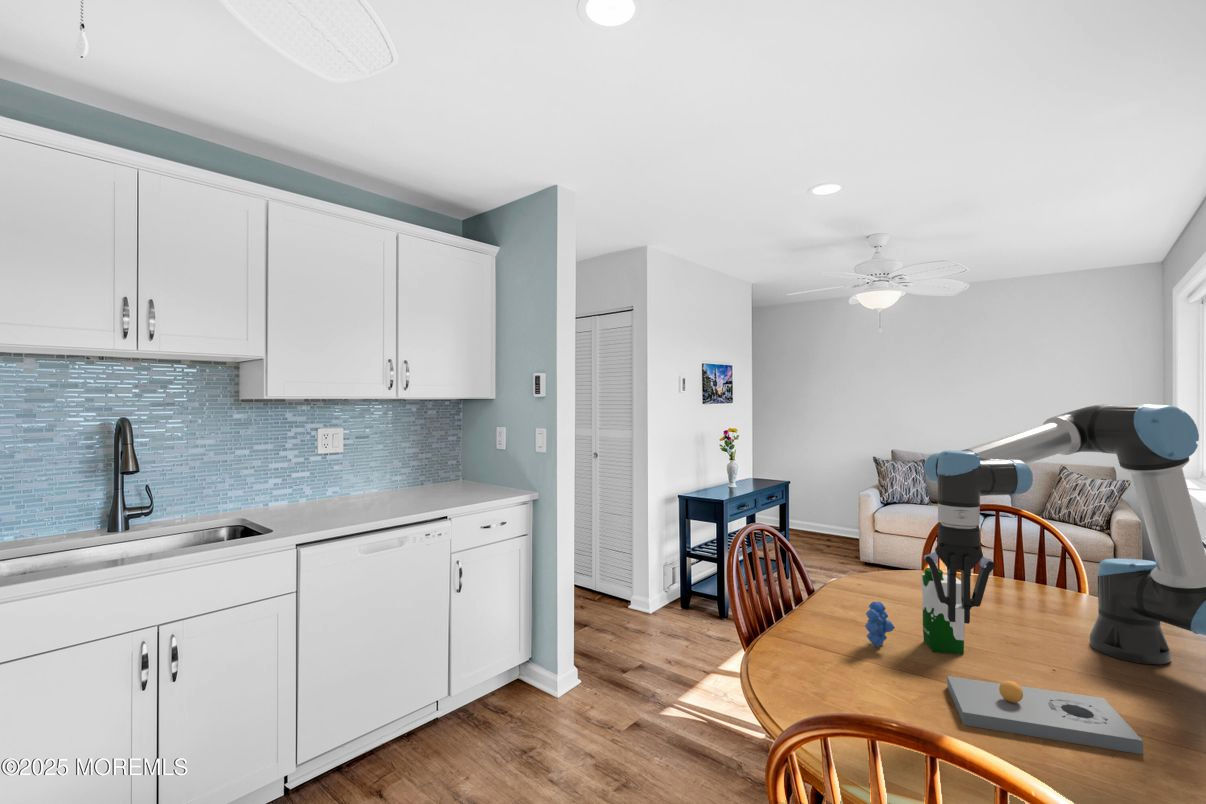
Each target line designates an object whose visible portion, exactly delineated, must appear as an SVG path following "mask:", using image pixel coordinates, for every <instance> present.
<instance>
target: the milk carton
mask: <svg viewBox="0 0 1206 804" xmlns="http://www.w3.org/2000/svg"><path fill="white" fill-rule="evenodd" d="M937 569H938V572H939V576H940V579H941V583H942V587H943V591H944V594H945V596H946V597H947V574H944V573H943V570H942V569H939V568H937ZM920 576H921V577H920V578H921V593H922V637H923V642H924V643H925V645H926V646H927V648H929V649H930V651H931V652H932V653H937V654H952V655H964V654H965V640H964V641H963V640H956V639H955V637H954V635H953V622H950V621H949V619H948V605H947V604H945V603H941V602H940V600H939V599H938V596H937V593H936V589H935V585H934V582H933V578H932V574H931V570H930V567H927V568H924V573H921V574H920ZM956 604H958V605H962V603H961V579H959V578H957V577H956Z"/></svg>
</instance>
